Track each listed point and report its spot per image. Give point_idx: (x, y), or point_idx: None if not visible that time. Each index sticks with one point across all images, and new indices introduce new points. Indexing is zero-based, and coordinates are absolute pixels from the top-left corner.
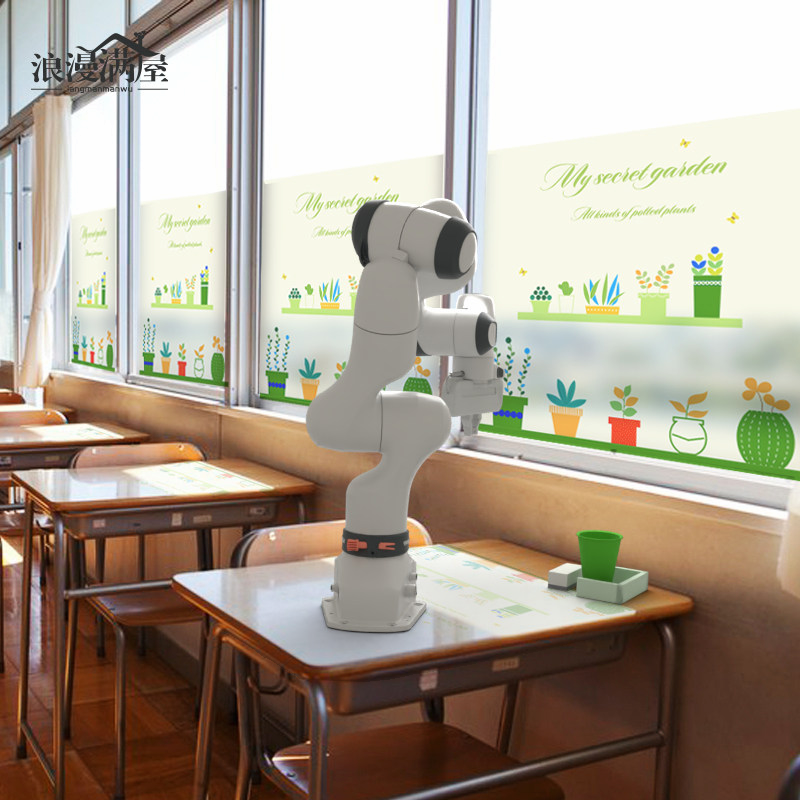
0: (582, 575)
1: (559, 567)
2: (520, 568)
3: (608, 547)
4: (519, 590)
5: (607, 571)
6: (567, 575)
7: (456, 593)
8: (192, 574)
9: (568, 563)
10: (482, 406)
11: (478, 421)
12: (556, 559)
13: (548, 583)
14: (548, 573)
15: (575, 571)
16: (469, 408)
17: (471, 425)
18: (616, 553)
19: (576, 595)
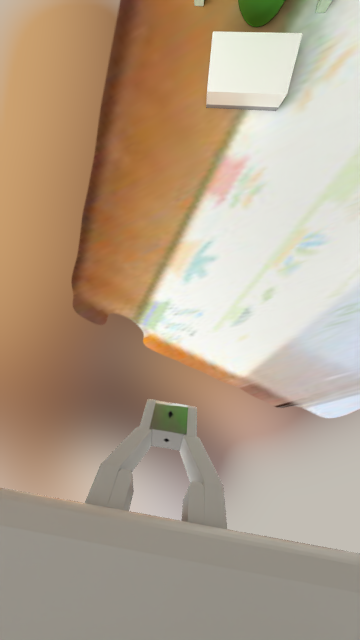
0: (278, 2)
1: (248, 87)
2: (184, 207)
3: None
4: (308, 150)
5: None
6: (300, 35)
7: (345, 226)
8: (323, 415)
9: (209, 84)
10: (84, 598)
11: (131, 454)
12: (108, 182)
13: (278, 105)
14: (285, 96)
15: (261, 33)
16: (304, 633)
17: (196, 448)
18: None
19: (325, 10)
